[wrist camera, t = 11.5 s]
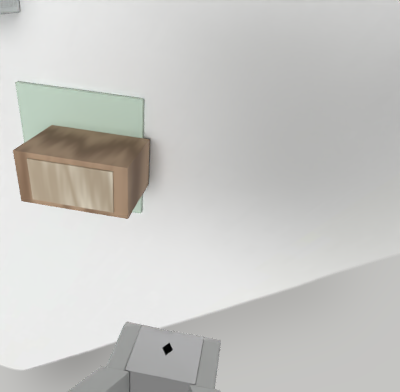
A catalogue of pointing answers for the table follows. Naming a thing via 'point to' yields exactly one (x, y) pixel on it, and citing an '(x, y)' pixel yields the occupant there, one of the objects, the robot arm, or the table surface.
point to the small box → (9, 6)
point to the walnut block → (83, 170)
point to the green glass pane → (79, 112)
